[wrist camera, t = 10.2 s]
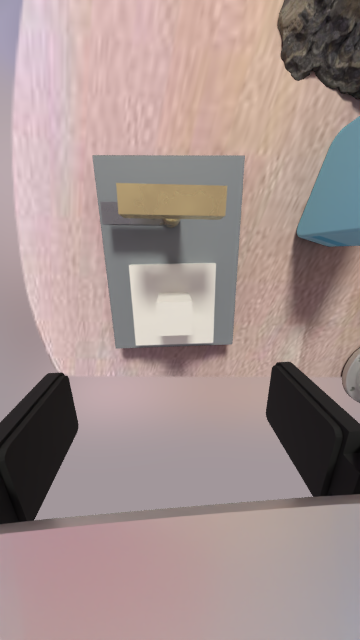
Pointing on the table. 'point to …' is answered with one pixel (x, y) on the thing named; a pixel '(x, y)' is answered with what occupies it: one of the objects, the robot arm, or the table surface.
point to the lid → (173, 303)
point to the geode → (322, 41)
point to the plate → (171, 234)
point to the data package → (336, 194)
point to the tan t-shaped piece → (164, 204)
